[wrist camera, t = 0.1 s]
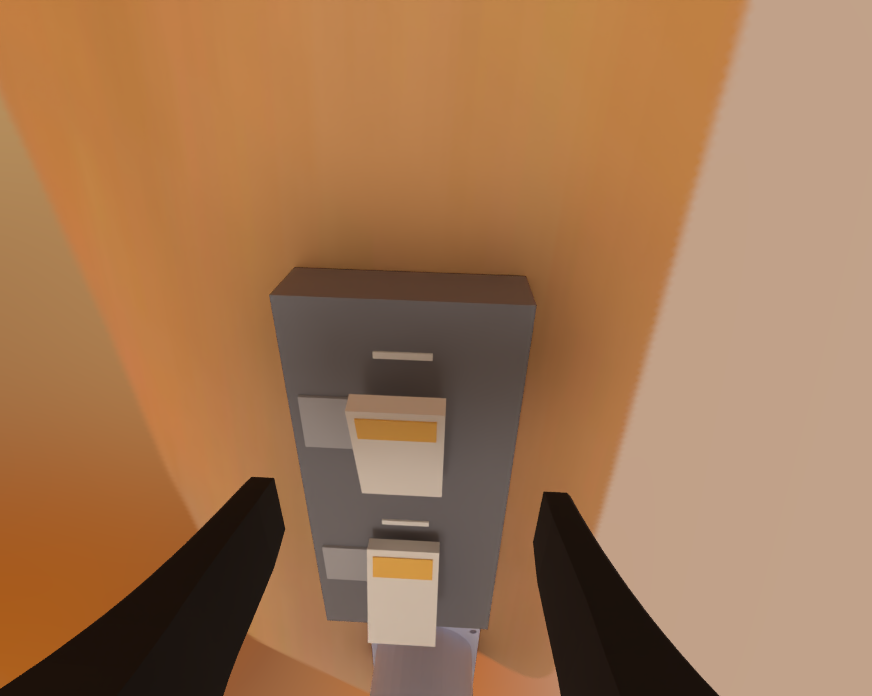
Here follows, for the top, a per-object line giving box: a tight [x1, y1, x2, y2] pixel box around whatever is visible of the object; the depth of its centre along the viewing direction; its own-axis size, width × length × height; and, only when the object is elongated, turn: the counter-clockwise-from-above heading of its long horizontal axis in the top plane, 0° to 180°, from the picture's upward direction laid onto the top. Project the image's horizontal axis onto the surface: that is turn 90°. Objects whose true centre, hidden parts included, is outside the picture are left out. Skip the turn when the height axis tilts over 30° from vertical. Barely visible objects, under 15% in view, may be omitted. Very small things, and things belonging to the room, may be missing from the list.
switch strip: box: [269, 267, 537, 629], centre depth 23 cm, size 22×10×3 cm, turn 179°
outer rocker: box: [345, 394, 446, 497], centre depth 18 cm, size 6×4×1 cm, turn 178°
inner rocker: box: [367, 538, 440, 647], centre depth 23 cm, size 6×4×1 cm, turn 179°
